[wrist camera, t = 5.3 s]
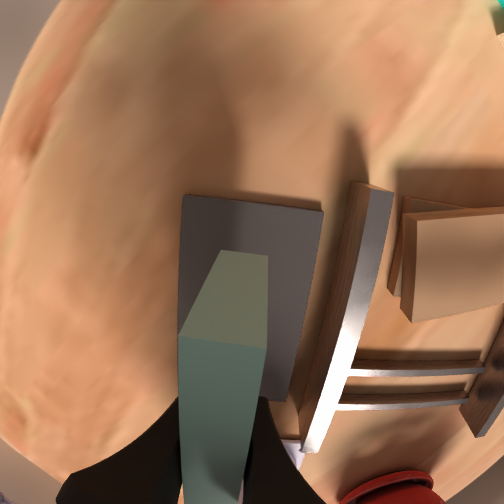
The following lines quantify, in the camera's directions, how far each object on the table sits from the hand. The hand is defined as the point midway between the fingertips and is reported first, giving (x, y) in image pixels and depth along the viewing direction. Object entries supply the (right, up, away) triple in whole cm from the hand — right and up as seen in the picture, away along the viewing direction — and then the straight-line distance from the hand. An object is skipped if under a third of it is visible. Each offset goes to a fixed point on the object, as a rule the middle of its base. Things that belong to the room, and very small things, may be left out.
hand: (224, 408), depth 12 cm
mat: (0, +3, +8) cm, 9 cm away
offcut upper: (+15, +6, +5) cm, 17 cm away
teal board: (0, +2, +3) cm, 3 cm away
